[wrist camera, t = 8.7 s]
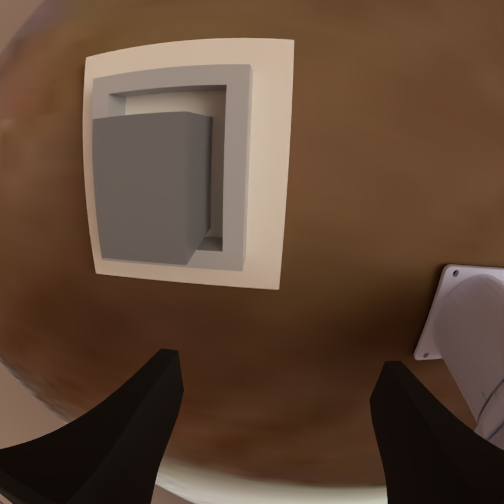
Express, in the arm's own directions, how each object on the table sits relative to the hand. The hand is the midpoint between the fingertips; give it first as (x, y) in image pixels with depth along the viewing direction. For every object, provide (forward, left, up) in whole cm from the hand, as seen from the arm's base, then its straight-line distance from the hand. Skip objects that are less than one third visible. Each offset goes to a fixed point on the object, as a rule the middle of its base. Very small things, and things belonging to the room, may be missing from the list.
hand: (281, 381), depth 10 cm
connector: (+6, -6, -8) cm, 12 cm away
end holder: (+6, -6, -9) cm, 13 cm away
